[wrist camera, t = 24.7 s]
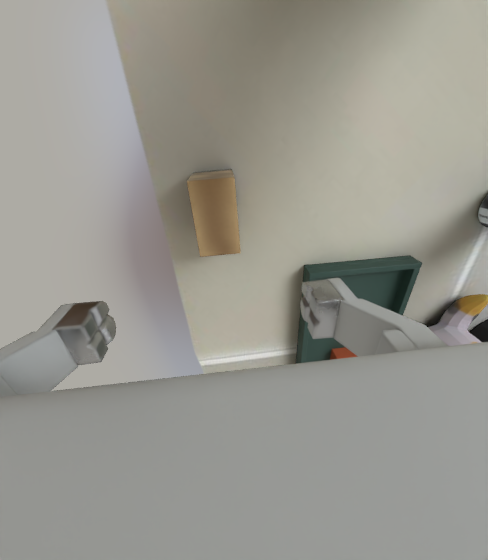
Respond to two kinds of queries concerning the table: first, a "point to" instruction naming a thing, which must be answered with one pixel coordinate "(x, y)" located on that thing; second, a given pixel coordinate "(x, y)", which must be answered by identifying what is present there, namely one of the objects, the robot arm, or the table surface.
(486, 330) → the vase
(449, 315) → the figurine
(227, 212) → the tan brown block
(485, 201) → the pill bottle
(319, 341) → the tray
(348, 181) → the table surface
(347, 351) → the orange red square block
